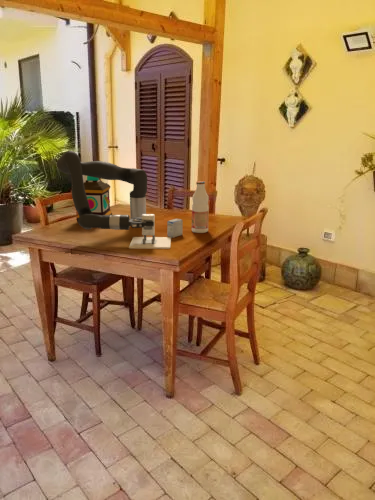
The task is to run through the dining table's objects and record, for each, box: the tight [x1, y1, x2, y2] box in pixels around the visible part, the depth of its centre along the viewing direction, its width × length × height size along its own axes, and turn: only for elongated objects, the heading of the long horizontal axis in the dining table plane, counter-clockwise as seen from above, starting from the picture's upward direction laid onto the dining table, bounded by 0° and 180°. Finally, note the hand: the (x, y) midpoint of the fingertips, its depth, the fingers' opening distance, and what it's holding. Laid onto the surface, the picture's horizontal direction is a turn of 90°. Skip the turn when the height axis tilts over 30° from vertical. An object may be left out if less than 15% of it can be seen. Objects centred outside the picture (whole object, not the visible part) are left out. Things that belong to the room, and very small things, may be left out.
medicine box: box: [166, 218, 184, 239], centre depth 222 cm, size 8×4×9 cm, turn 141°
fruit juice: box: [191, 180, 210, 234], centre depth 229 cm, size 9×9×28 cm
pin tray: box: [128, 234, 172, 250], centre depth 208 cm, size 18×20×3 cm
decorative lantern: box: [76, 176, 113, 224], centre depth 250 cm, size 20×20×30 cm
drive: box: [141, 213, 156, 236], centre depth 205 cm, size 4×6×10 cm
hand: (153, 222), depth 205 cm, fingers closed on drive, 4 cm apart
